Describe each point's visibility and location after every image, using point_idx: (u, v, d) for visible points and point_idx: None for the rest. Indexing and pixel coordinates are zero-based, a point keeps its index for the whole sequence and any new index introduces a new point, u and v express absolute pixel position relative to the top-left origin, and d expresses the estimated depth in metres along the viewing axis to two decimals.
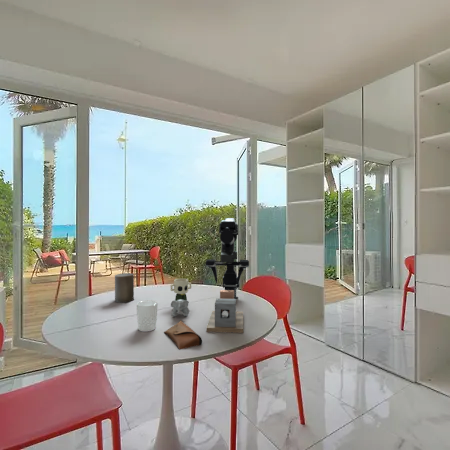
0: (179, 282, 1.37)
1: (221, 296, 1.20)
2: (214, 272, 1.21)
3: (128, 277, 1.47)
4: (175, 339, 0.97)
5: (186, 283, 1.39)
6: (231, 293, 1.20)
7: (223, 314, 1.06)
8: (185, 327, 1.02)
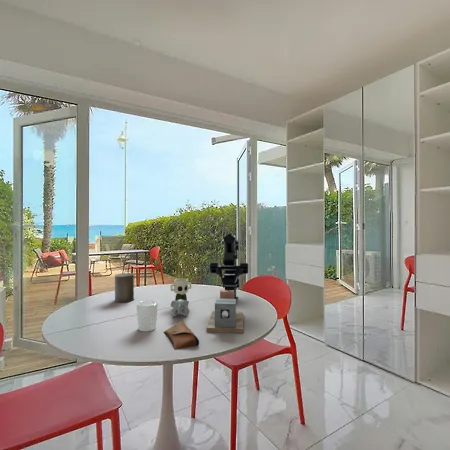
0: (179, 282, 1.37)
1: (221, 296, 1.20)
2: (220, 272, 1.34)
3: (128, 277, 1.47)
4: (172, 339, 0.96)
5: (186, 283, 1.39)
6: (231, 293, 1.20)
7: (223, 314, 1.06)
8: (184, 327, 1.01)
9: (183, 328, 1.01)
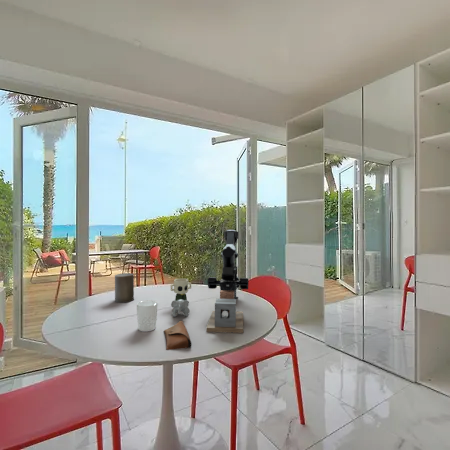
0: (179, 282, 1.37)
1: (221, 296, 1.20)
2: (225, 288, 1.26)
3: (128, 277, 1.47)
4: (167, 339, 0.97)
5: (186, 283, 1.39)
6: (231, 293, 1.20)
7: (223, 314, 1.06)
8: (180, 328, 1.01)
9: (179, 329, 1.00)
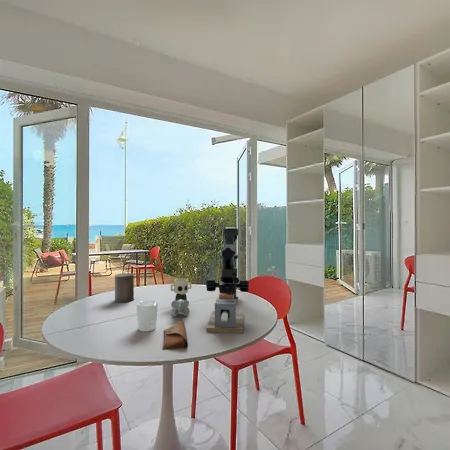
0: (179, 282, 1.37)
1: None
2: (224, 291, 1.21)
3: (128, 277, 1.47)
4: (164, 339, 0.97)
5: (186, 283, 1.39)
6: (230, 296, 1.15)
7: (222, 319, 1.01)
8: (178, 328, 1.00)
9: (177, 329, 1.00)
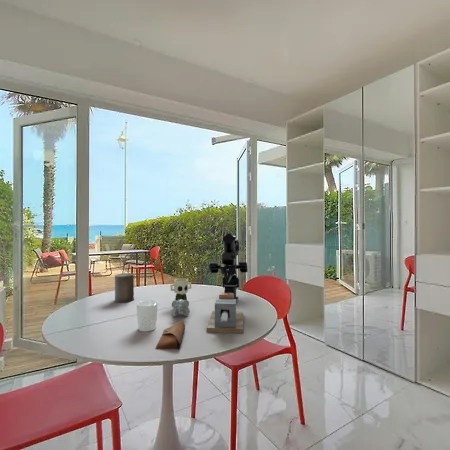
0: (179, 282, 1.37)
1: None
2: (225, 272, 1.35)
3: (128, 277, 1.47)
4: (160, 338, 0.97)
5: (186, 283, 1.39)
6: (230, 296, 1.15)
7: (222, 318, 1.01)
8: (175, 328, 1.00)
9: (174, 329, 1.00)
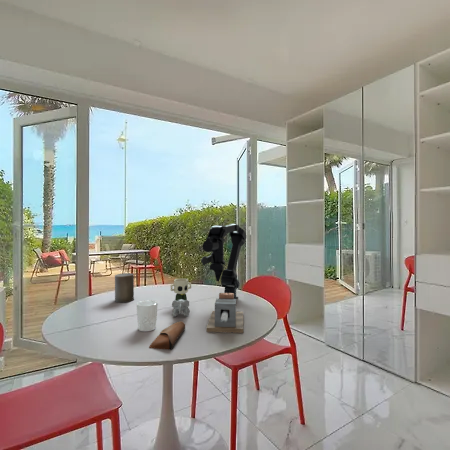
0: (179, 282, 1.37)
1: None
2: None
3: (128, 277, 1.47)
4: None
5: (186, 283, 1.39)
6: (230, 296, 1.15)
7: (222, 318, 1.01)
8: (172, 328, 1.00)
9: (171, 329, 1.00)
